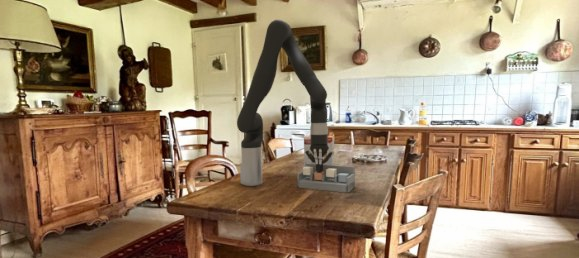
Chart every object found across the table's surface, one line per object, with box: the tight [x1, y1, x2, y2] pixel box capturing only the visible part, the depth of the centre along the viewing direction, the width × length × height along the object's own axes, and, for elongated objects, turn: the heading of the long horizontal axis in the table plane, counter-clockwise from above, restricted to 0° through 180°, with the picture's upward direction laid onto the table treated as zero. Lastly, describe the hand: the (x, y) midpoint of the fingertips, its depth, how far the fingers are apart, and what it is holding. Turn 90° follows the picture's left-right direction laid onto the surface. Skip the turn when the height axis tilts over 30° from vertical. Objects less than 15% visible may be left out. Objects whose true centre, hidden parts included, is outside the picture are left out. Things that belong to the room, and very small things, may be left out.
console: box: [296, 163, 356, 194], centre depth 143 cm, size 23×10×9 cm, turn 63°
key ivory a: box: [302, 167, 313, 175], centre depth 147 cm, size 4×4×3 cm
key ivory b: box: [326, 168, 337, 177], centre depth 142 cm, size 4×4×3 cm
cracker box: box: [303, 135, 335, 168], centre depth 159 cm, size 14×6×21 cm, turn 73°
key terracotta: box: [314, 172, 325, 180], centre depth 144 cm, size 4×4×3 cm
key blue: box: [338, 173, 349, 182], centre depth 139 cm, size 4×4×3 cm
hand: (319, 172), depth 144 cm, fingers closed
